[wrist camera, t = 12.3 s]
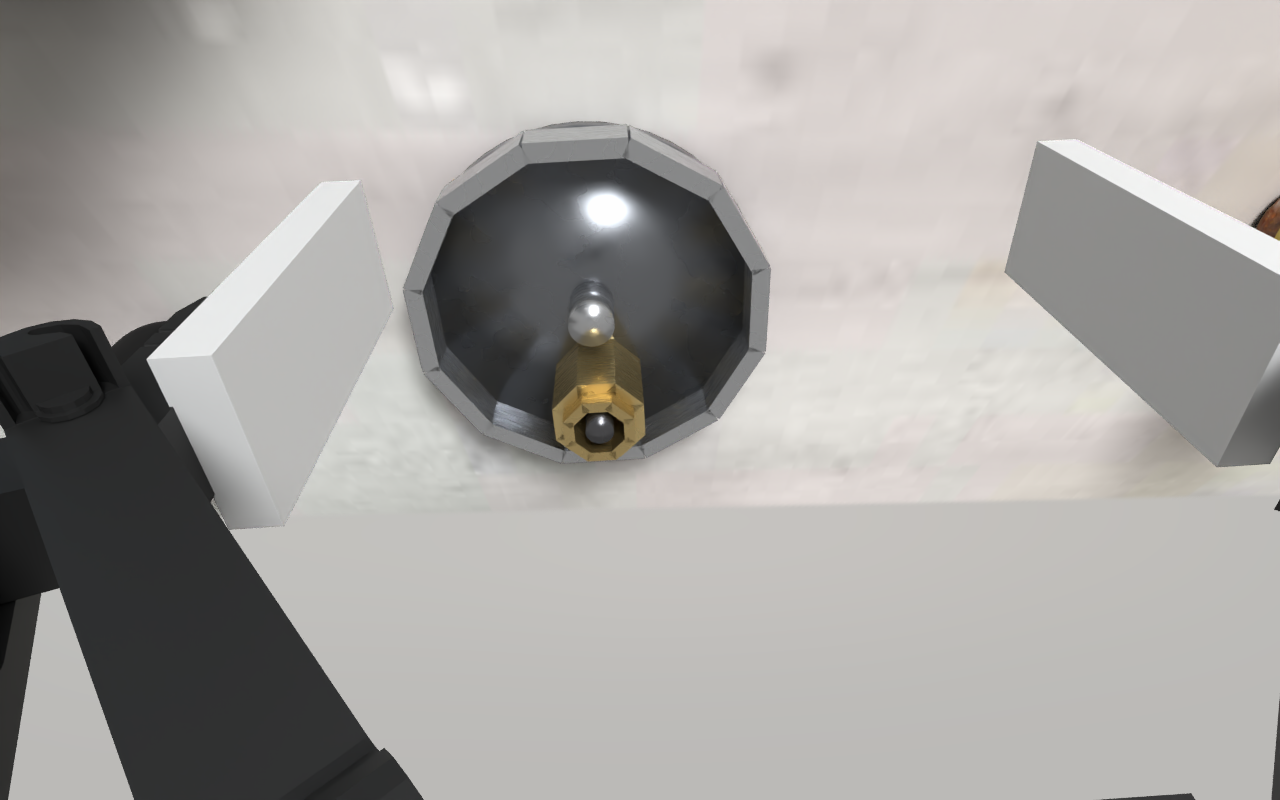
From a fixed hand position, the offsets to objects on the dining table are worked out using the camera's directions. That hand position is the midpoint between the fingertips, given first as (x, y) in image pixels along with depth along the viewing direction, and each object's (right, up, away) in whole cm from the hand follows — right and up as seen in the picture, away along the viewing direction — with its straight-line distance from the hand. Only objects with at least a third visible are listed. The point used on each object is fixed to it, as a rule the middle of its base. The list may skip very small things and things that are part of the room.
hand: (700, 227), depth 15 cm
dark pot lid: (-4, +3, +30) cm, 30 cm away
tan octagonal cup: (-4, -2, +32) cm, 32 cm away
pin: (-4, -1, +33) cm, 33 cm away
